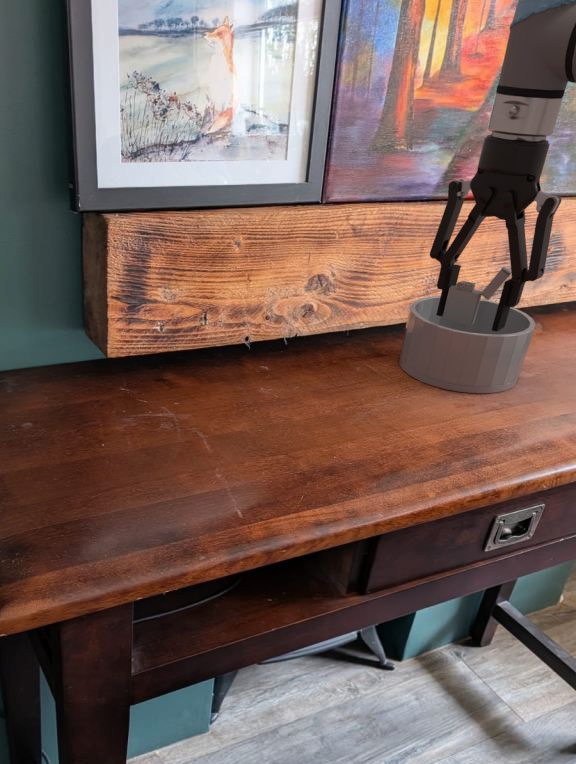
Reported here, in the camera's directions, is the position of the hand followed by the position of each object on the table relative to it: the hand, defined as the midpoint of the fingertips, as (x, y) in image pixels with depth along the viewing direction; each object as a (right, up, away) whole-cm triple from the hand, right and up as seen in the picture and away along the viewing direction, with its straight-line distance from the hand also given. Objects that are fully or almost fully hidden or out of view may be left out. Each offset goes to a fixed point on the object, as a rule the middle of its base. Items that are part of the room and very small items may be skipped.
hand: (469, 320), depth 102 cm
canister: (0, -6, +4) cm, 7 cm away
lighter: (0, 0, 0) cm, 1 cm away
